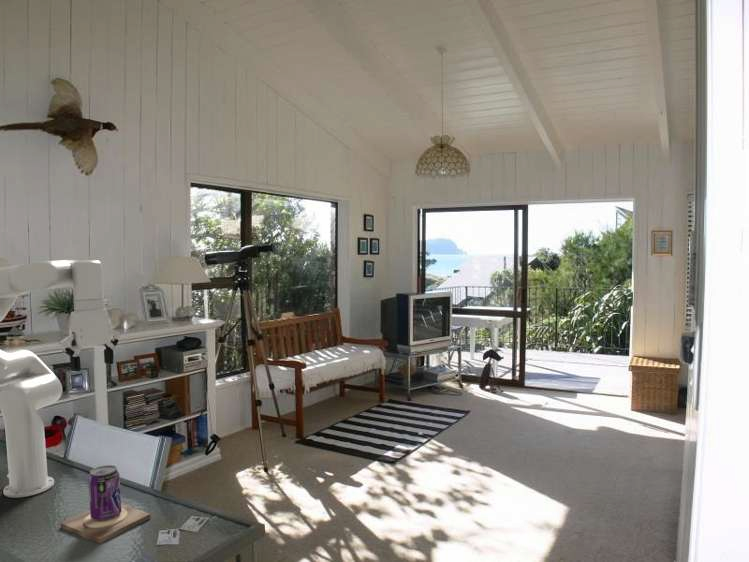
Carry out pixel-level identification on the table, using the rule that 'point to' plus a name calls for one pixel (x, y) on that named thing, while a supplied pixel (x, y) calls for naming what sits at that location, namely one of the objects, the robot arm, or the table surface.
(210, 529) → the table surface
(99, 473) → the beverage can
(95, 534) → the board
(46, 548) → the table surface
